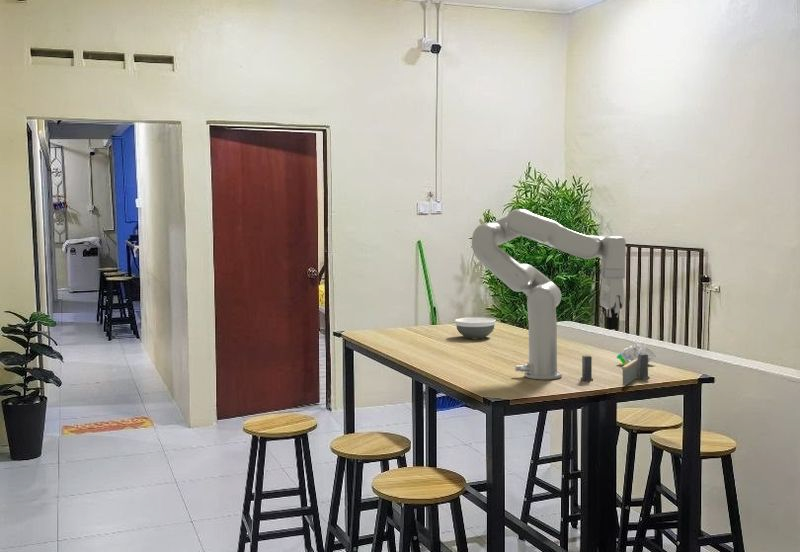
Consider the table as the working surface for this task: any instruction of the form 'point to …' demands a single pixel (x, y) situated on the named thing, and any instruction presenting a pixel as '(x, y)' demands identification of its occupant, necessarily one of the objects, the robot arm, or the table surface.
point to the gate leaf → (630, 371)
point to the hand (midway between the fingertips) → (612, 329)
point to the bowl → (475, 326)
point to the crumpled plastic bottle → (635, 352)
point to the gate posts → (588, 367)
